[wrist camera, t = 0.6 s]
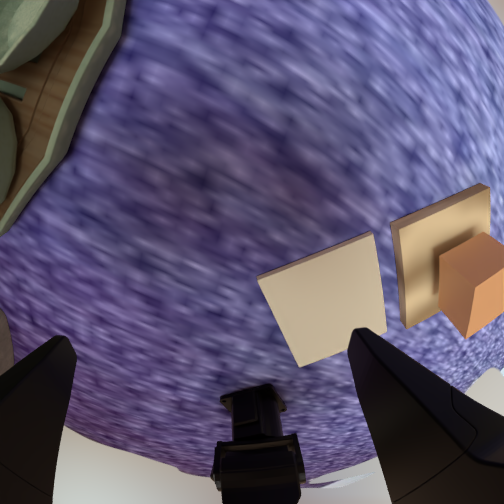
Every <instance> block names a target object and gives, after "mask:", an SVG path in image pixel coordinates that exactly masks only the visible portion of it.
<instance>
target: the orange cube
mask: <svg viewBox="0 0 504 504" xmlns="http://www.w3.org/2000/svg"><path fill="white" fill-rule="evenodd" d="M438 307H439V308H440V309H441V310H442V312H443V313H444V314H445V315H446V316H447V317H448V319H449V320H450V321H451V322H452V323H453V325H454V326H455V327H456V328H457V330H458V331H459V332H460V333H461V334H462V336H463V337H464V338H465V339H467V338H468V337H470V336H471V335H473V334H474V333H476V332H477V331H478V330H480V329H481V328H483V327H484V326H485V325H487V324H488V323H489V322H491V321H492V320H493V319H495V318H496V317H497V316H499V315H500V314H501V313H503V312H504V245H503V244H501V243H500V242H498V241H497V240H495V239H494V238H493V237H491V236H490V235H488V234H487V233H485V232H481V233H480V234H478V235H476V236H474V237H473V238H471V239H469V240H467V241H466V242H464V243H462V244H460V245H458V246H457V247H455V248H453V249H451V250H449V251H447V252H445V253H444V254H442V255H440V256H439V299H438Z"/></svg>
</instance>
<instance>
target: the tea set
mask: <svg viewBox="0 0 504 504" xmlns="http://www.w3.org/2000/svg"><path fill="white" fill-rule="evenodd" d="M125 6H126V0H0V237H1V236H2V235H3V234H5V233H6V232H8V231H9V229H10V228H11V226H12V225H13V223H14V222H15V220H16V219H17V217H18V216H19V214H20V213H21V211H22V210H23V208H24V207H25V206H26V204H27V203H28V201H29V200H30V199H31V197H32V196H33V195H34V193H35V192H36V191H37V189H38V188H39V187H40V185H41V184H42V183H43V182H44V180H45V179H46V178H47V177H48V175H49V174H50V173H51V172H52V171H53V169H54V168H55V167H56V166H57V165H58V164H59V162H60V161H61V160H62V159H63V158H64V156H65V155H66V153H67V151H68V148H69V145H70V142H71V140H72V137H73V134H74V131H75V129H76V126H77V124H78V121H79V119H80V116H81V114H82V111H83V109H84V106H85V104H86V102H87V100H88V97H89V95H90V93H91V91H92V89H93V87H94V85H95V83H96V81H97V79H98V77H99V75H100V73H101V71H102V69H103V67H104V65H105V63H106V61H107V59H108V58H109V56H110V54H111V52H112V51H113V49H114V47H115V46H116V44H117V42H118V41H119V39H120V37H121V32H122V24H123V18H124V11H125Z"/></svg>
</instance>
